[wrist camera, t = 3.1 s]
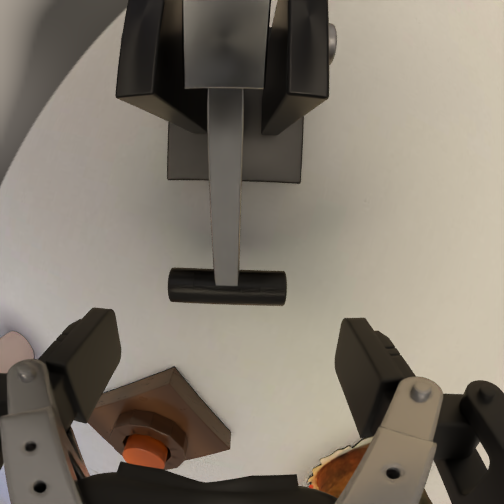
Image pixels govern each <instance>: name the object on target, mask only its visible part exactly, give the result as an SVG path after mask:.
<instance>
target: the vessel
mask: <svg viewBox="0 0 504 504" xmlns="http://www.w3.org/2000/svg"><path fill="white" fill-rule="evenodd" d="M372 439H373V437H370V438H367V439H364V440H362V441H361V442H360V443H358V444H357V445H356V446H355V447H354V448H351V447H350V446H348V447H347V448H345V449H344V450H337V451H336V452H334V454H332V455H330V456H328V457H325V458H322V459H320V462H321V463H322V465H320V466H318V467H316V468H314V469H313V475H314V476H312V477H311V478H309V480H308V482H310V481H312V483H311V485H310V486H309V488H313V489H316V490H320V491H323V492H325V493H328V494H330V495H332V496H334V497H336V498H339V496H340V494H341V493H342V491H343V490H344V488H345V487H346V485H347V483H348V482H349V480H350V478H351V477H352V475H353V473H354V472H355V470H356V468H357V466H358V465H359V463H360V461H361V459H362V458H363V456H364V454H365V452H366V450H367V448H368V447H369V445H370V443H371V441H372ZM419 504H432V502H431V500H430V499H429V497H428V495H427V493H426V491H425V489H424V490H423V493H422V496H421V499H420V501H419Z"/></svg>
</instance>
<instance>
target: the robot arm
mask: <svg viewBox="0 0 504 504" xmlns="http://www.w3.org/2000/svg"><path fill="white" fill-rule="evenodd" d="M120 358H121V344H120V339H119V333H118V328H117V322H116V316H115V313H114V311H113V310H112V309H103V308H92V309H91V310H90V311H89V312H88V313H87V314H86V315H85V316H84V317H83V318H82V319H79V320H78V321H76V322H74V323H72V324H70V325H69V326H68V327H67V328H66V329H65V330H64V331H63V332H62V334H61V335H60V336H59V337H58V338H57V340H56V341H54V342H53V343H52V344H51V346H50V347H49V348H48V349H47V350H46V351H45V352H44V353H43V355H42V356H41V357H40V358H39V359H38V360H37V359H26V360H22V361H19V362H17V363H16V364H14V365H13V366H12V367H11V368H10V369H9V370H8V373H0V470H1V468H2V466H3V464H4V468H5V475H6V481H7V486H8V492H9V497H10V501H11V504H419V501H420V499H421V496H422V493H423V490H424V487H425V484H426V481H427V478H428V475H429V472H430V469H431V466H432V462H433V460H434V462H435V464H436V466H437V469H438V471H439V473H440V476H441V478H442V480H443V483H444V485H445V488H446V490H447V493H448V495H449V498H450V500H451V503H452V504H504V393H503V392H502V391H501V390H500V389H499V388H498V387H497V386H496V385H494V384H492V383H490V382H487V381H482V380H478V381H473V382H471V383H470V384H469V385H468V386H467V388H466V390H465V392H464V394H463V395H462V394H443V392H442V390H441V388H440V387H439V386H438V385H437V384H436V383H435V382H433V381H432V380H429V379H427V378H423V377H416V376H415V374H414V373H413V372H412V370H411V369H410V367H409V366H408V364H407V363H406V362H405V360H404V359H403V357H402V356H401V355H400V353H399V352H398V350H397V349H396V348H395V346H394V345H393V343H392V342H391V340H390V339H389V338H388V337H387V336H385V335H384V334H382V333H381V332H379V331H374V330H373V329H372V327H371V326H370V324H369V323H368V321H367V320H366V319H365V318H344V319H343V321H342V323H341V328H340V333H339V339H338V344H337V349H336V354H335V370H336V374H337V376H338V379H339V382H340V384H341V387H342V389H343V392H344V395H345V397H346V400H347V403H348V405H349V408H350V411H351V413H352V416H353V419H354V421H355V424H356V427H357V429H358V432H359V435H360V438H364V437H371V436H373V439H372V441H371V443H370V445H369V447H368V448H367V450H366V452H365V454H364V456H363V458H362V459H361V461H360V463H359V465H358V466H357V468H356V470H355V472H354V473H353V475H352V477H351V478H350V480H349V482H348V483H347V485H346V487H345V488H344V490H343V491H342V493H341V494H340V496H339V498H336V497H334V496H332V495H330V494H328V493H325V492H323V491H320V490H316V489H313V488H308V487H303V486H298V481H297V474H295V475H270V476H248V477H242V478H237V479H230V480H224V481H217V482H209V483H205V482H199V481H196V480H193V479H190V478H186V477H183V476H180V475H177V474H174V473H171V472H169V471H166V470H163V469H159V468H153V467H147V466H141V465H136V464H130V463H125V462H120V465H119V468H118V470H117V472H111V473H102V474H96V475H92V476H90V475H89V473H88V470H87V468H86V466H85V463H84V460H83V458H82V455H81V452H80V450H79V447H78V444H77V441H76V438H75V435H74V432H73V430H72V428H71V424H72V422H73V420H75V421H78V422H82V423H87V422H88V420H89V418H90V416H91V414H92V412H93V410H94V408H95V406H96V404H97V402H98V401H99V399H100V397H101V395H102V393H103V391H104V389H105V388H106V386H107V384H108V382H109V380H110V378H111V377H112V375H113V373H114V371H115V369H116V368H117V366H118V364H119V362H120ZM479 442H481V444H482V445H483V447H484V449H485V451H486V452H487V454H488V456H489V460H490V465H489V469H488V470H487V468H486V466H485V464H484V463H483V461H482V459H481V457H480V455H479V453H478V452H477V450H476V447H477V445H478V444H479Z"/></svg>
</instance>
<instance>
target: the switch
mask: <svg viewBox="0 0 504 504" xmlns="http://www.w3.org/2000/svg"><path fill="white" fill-rule="evenodd" d="M270 7H271V0H182V58H183V87H184V88H185V89H199V88H207V129H208V165H209V191H210V213H211V233H212V251H213V267H214V269H199V268H171V270H170V273H169V278H168V295H169V299H170V301H171V302H183V303H204V304H229V305H266V306H283V305H284V304H285V301H286V293H287V279H286V273H285V272H284V271H261V270H239V262H240V223H241V188H242V157H243V128H244V101H245V89H265V83H266V68H267V53H268V37H269V22H270Z"/></svg>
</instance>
